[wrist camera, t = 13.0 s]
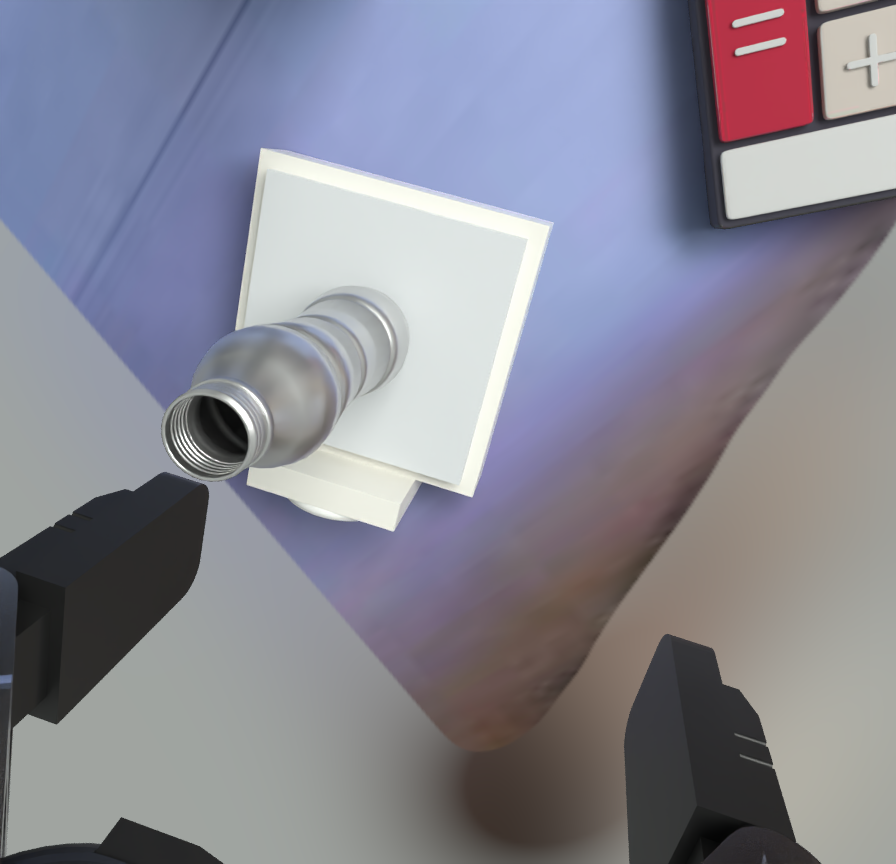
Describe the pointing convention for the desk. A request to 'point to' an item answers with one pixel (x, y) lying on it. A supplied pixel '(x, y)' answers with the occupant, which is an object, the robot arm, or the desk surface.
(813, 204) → the calculator
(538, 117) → the desk surface
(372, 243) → the plate
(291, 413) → the silver metal bottle
